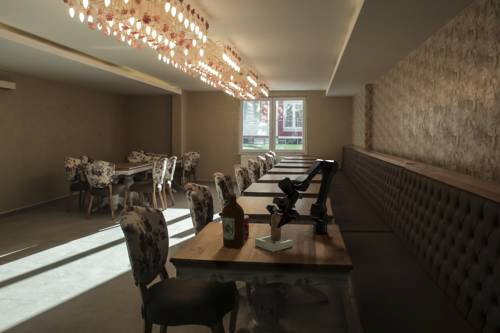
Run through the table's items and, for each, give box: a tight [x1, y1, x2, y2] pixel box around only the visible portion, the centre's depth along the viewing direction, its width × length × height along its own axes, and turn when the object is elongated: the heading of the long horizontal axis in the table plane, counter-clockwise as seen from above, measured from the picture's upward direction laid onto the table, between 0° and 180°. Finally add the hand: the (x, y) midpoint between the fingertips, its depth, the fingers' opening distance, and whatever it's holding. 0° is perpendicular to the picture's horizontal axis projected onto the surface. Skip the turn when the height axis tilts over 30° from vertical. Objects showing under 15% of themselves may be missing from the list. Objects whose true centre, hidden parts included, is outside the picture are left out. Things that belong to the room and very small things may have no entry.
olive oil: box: [221, 192, 245, 249], centre depth 183 cm, size 11×11×25 cm
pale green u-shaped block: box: [254, 235, 293, 253], centre depth 183 cm, size 12×12×3 cm
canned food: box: [243, 214, 250, 240], centre depth 198 cm, size 8×8×11 cm
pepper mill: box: [270, 212, 282, 242], centre depth 184 cm, size 5×5×13 cm
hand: (273, 226), depth 183 cm, fingers closed on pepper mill, 5 cm apart
